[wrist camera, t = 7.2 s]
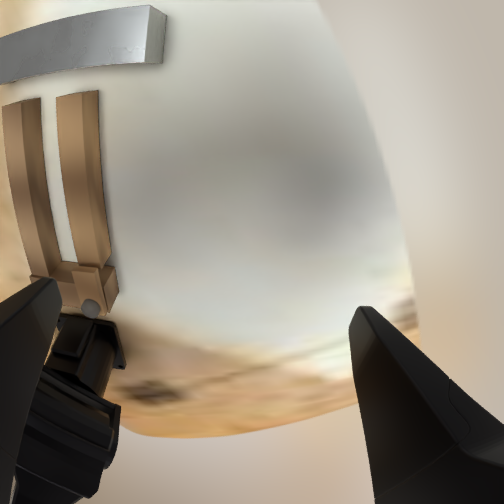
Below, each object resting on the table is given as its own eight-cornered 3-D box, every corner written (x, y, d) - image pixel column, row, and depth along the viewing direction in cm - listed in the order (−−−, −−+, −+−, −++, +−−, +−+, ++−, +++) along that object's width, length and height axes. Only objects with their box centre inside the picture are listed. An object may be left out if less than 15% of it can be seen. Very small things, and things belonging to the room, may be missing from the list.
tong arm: (118, 288, 23) (103, 320, 20) (98, 286, 23) (81, 317, 20) (97, 90, 15) (67, 97, 12) (73, 93, 15) (40, 101, 12)
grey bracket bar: (162, 63, 15) (144, 61, 12) (7, 83, 14) (-24, 91, 11) (167, 15, 13) (150, 4, 10) (9, 44, 12) (-22, 46, 10)
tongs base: (119, 291, 23) (109, 312, 21) (50, 281, 23) (37, 300, 21) (102, 90, 15) (83, 94, 13) (20, 101, 15) (-2, 107, 13)
